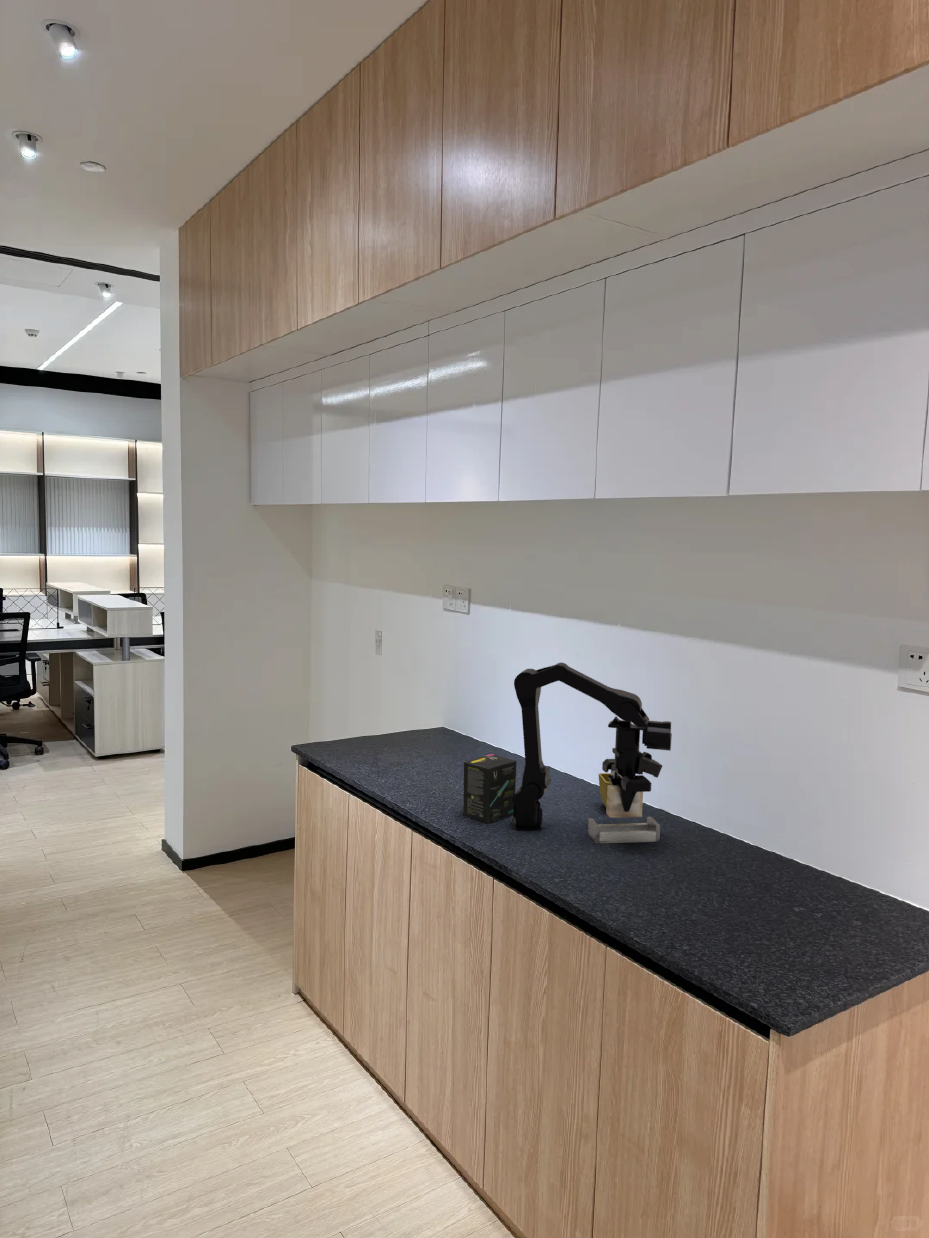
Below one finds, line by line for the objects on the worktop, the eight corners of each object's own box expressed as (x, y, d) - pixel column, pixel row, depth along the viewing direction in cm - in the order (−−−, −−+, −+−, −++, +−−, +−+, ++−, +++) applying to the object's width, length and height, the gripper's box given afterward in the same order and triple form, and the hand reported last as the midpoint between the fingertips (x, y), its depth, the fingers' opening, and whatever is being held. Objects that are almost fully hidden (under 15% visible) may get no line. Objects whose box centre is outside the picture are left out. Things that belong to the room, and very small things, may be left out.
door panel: (610, 817, 200) (611, 789, 199) (606, 813, 203) (607, 785, 202) (642, 816, 201) (643, 788, 200) (637, 812, 204) (638, 784, 204)
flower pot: (596, 804, 227) (598, 772, 226) (628, 804, 228) (629, 772, 227) (604, 815, 218) (605, 782, 217) (637, 815, 219) (638, 782, 218)
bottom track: (595, 843, 198) (596, 827, 198) (588, 834, 205) (588, 818, 204) (659, 841, 201) (660, 825, 200) (650, 832, 207) (650, 816, 206)
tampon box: (489, 805, 224) (491, 752, 223) (515, 814, 218) (517, 759, 216) (461, 815, 216) (462, 760, 215) (487, 824, 210) (489, 767, 208)
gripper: (674, 756, 192) (670, 821, 194) (645, 736, 211) (642, 796, 212) (628, 757, 191) (624, 822, 192) (602, 736, 209) (600, 797, 211)
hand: (624, 809), depth 202 cm, fingers closed on door panel, 3 cm apart
